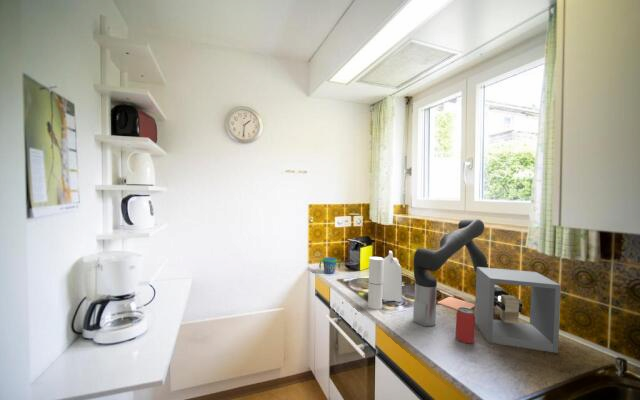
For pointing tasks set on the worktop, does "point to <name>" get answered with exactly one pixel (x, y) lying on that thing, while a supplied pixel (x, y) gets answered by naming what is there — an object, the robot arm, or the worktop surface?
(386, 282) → the milk
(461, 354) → the worktop surface
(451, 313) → the worktop surface
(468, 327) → the beer can
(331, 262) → the snack cup
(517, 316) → the maple block
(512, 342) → the box
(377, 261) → the cylindrical container
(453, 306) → the terracotta mat
